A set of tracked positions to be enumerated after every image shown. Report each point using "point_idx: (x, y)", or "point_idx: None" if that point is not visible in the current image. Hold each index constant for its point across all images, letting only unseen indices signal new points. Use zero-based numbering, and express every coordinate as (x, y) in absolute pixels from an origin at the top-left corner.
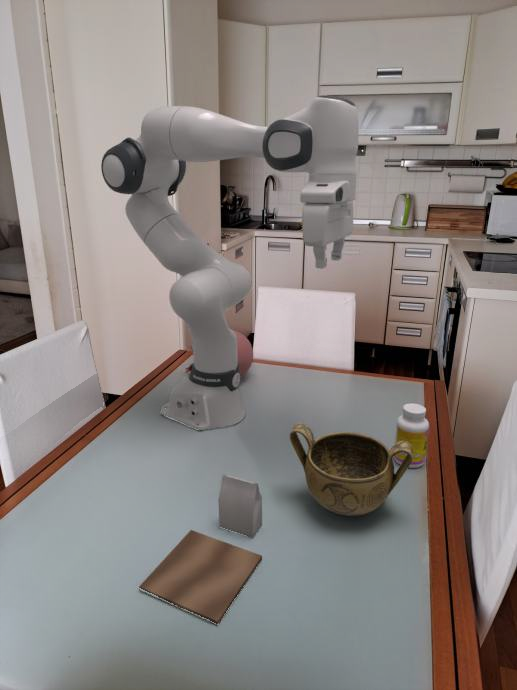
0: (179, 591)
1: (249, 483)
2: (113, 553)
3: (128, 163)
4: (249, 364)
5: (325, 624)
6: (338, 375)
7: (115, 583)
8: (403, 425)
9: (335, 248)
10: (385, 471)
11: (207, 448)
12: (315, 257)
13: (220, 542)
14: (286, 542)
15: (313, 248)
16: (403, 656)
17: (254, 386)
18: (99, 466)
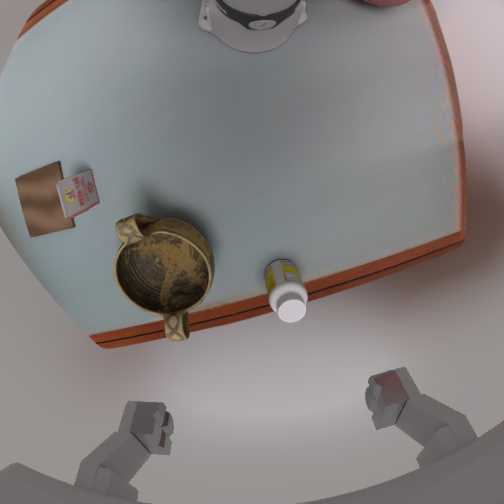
0: (26, 203)
1: (64, 212)
2: (22, 134)
3: None
4: (381, 5)
5: (71, 285)
6: (448, 125)
7: (12, 160)
8: (271, 295)
9: (413, 415)
10: (157, 314)
11: (169, 61)
12: (111, 437)
13: None
14: (98, 231)
15: (80, 469)
16: (87, 323)
17: (362, 23)
18: (85, 15)
